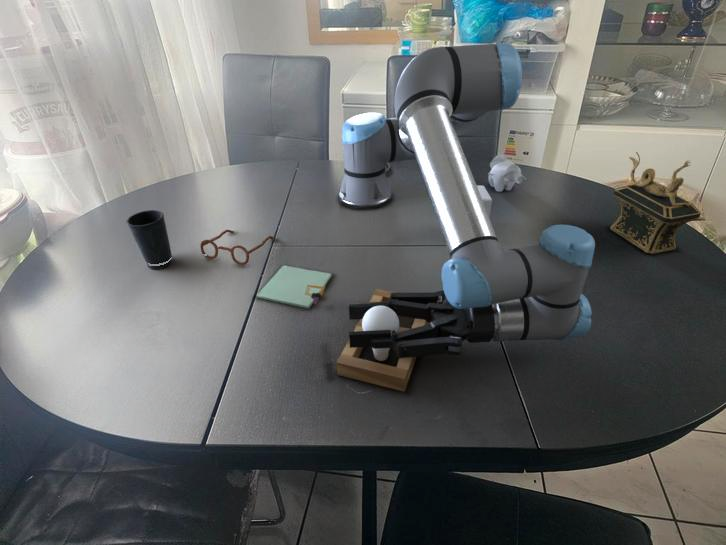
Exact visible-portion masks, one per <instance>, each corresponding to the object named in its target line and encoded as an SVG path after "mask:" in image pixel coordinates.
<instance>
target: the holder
mask: <svg viewBox="0 0 726 545" xmlns="http://www.w3.org/2000/svg"><path fill="white" fill-rule="evenodd" d="M391 293H397V292H396V291H392V290H391V291H389V290H385V289H380V288H376V289H375V291H374V293H373V294H372V297H371V298H370V300H369V302H368V304H369V303H371V302H386V301H388V300H389V298H390V294H391ZM397 300H398V299H397ZM395 309H396V308H395ZM432 311H433V310H432ZM362 320H363V319H358V322H357V324H356V325H355V328H354V330H353V331H352V332H354V331H363V329H362ZM427 324H429V323H428V322H427V321H426V320H423V319H416V318H414V320H413V324H412V325H411V328H407V327H403V326H399V329H398V332H402V331H405V330H409V329H413V328H416V327H420V326H424V325H427ZM398 332H397V333H398ZM363 349H364V347H353V348H350V339H349V338H348V341H347V342H346V344H345V346H344V348H343V350H342V352H341V354H340V355H339V357H338V359H337V361H336V372H337V376H341V377H345V378H348V379H353V380H357V381H360V382H364V383H369V384H372V385H376V386H380V387H385V388H387V389H392V390H396V391H399V392H405V391H406V388H407V386H408V384H409V380H410V377H411V374H412V372H413V369H414V366H415V362H416V360H417V357H408V358H399V359H398V361H397V364H396V366H393V365H390V364H384V363H381V362H376V361H371V360H367V359H364V358H360V355H361V353H362V352H363ZM405 350H406V349H405Z"/></svg>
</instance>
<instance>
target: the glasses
mask: <svg viewBox="0 0 726 545" xmlns="http://www.w3.org/2000/svg"><path fill="white" fill-rule="evenodd" d="M226 233H229V234H235V231H234V230H231V229H225V230H223V231H221V233H219V234H218V235H216V236H215V237H212V238H210V239H204V240H202V241H201V242H200V246H199V247H200V252H201V253H202V255H203V254H207V253H206V252H205V250H204V247H205V246H206V245H208V244H210V245H212V246H213V247H214V255H213V256H210V255H208V254H207V256H204V258H206V259H207V260H208V259H209V260H214V259H216V258H218V254H219V250H222V251H228V252H230V256H231V260H232V261H233V262H234V263H235V264H237V265H239V266H246V265H247V264H248V263H249V261H250V255H251V254H252V253H253V252H255V251H257V250H259V249H261V248H262V247H264V246H265V244H266V243H267V241H269V240H272V241H273V242H276V239H277V238H276V237H274V236H272V235H268V236H267V237H265V238H264V240H262V242H261V243H259V244H257V245H256V246H254V247H252V248H251V249H249V250H248V249H247V248H246V247H245V246H243V245H238V244H237V245H234V246H232V247H231V248H230V247H227V246H223V245H219V246H218V245H217V243H216V242H214V241H217V240H219V239H220V238H222V236H224V235H225V234H226ZM236 249H241V250H242V251H243V252H244V253H245V260H244V261H243V262H242V261H239V260H237V258H236V257H235V252H234V251H235V250H236Z"/></svg>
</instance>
